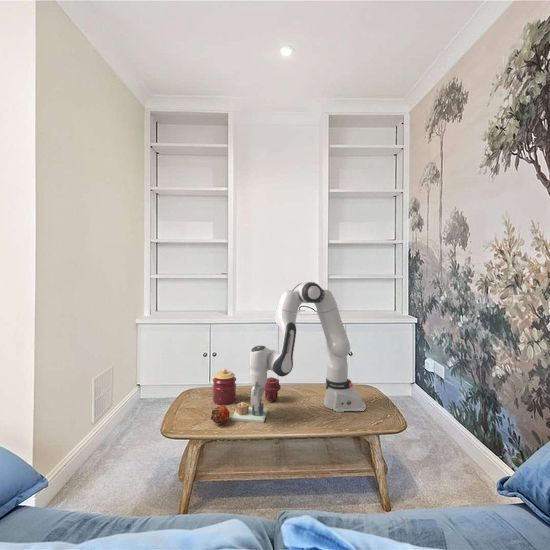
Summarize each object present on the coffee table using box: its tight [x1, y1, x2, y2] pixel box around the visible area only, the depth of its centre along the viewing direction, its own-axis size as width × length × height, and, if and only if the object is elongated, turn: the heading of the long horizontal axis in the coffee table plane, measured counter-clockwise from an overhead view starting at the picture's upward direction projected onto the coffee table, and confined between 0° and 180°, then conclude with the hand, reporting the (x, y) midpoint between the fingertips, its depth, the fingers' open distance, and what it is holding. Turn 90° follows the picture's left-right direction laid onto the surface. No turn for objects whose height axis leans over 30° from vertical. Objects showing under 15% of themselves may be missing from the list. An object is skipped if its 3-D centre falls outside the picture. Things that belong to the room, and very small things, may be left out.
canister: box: [212, 368, 237, 406], centre depth 181 cm, size 13×13×18 cm
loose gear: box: [251, 402, 265, 416], centre depth 163 cm, size 5×5×4 cm
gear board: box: [230, 401, 269, 424], centre depth 164 cm, size 16×13×6 cm
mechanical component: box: [264, 376, 281, 404], centre depth 182 cm, size 12×10×10 cm
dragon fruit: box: [210, 405, 230, 425], centre depth 157 cm, size 8×8×12 cm
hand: (258, 406), depth 163 cm, fingers open, 8 cm apart
